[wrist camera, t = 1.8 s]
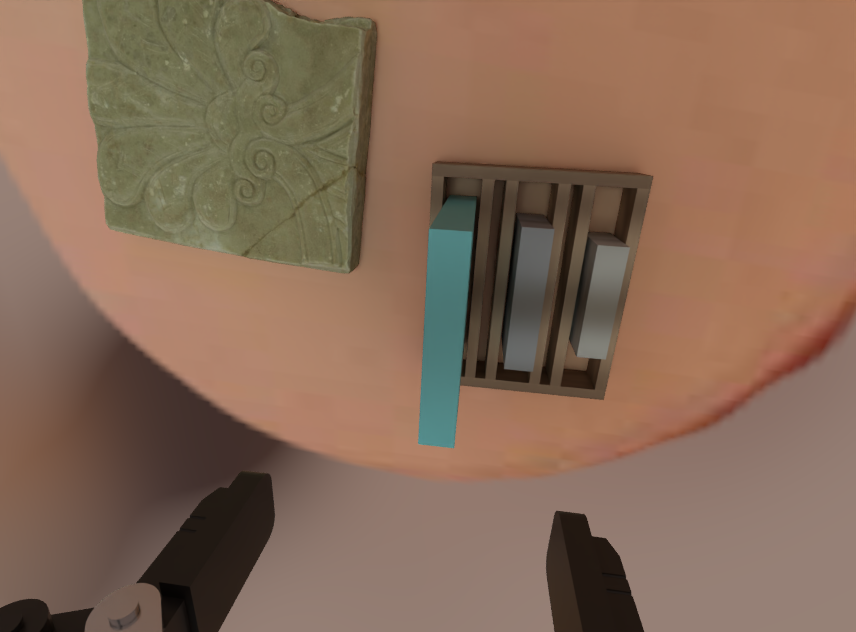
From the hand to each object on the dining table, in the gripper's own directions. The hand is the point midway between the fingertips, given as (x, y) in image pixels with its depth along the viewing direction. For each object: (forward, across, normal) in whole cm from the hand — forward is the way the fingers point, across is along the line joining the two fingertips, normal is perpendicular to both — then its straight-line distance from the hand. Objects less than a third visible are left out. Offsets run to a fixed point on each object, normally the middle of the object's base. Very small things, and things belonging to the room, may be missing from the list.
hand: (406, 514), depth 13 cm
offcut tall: (+25, -5, 0) cm, 26 cm away
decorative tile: (+26, +17, -10) cm, 32 cm away
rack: (+25, -5, 0) cm, 25 cm away
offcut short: (+25, -10, 0) cm, 27 cm away
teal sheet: (+25, 0, 0) cm, 25 cm away
